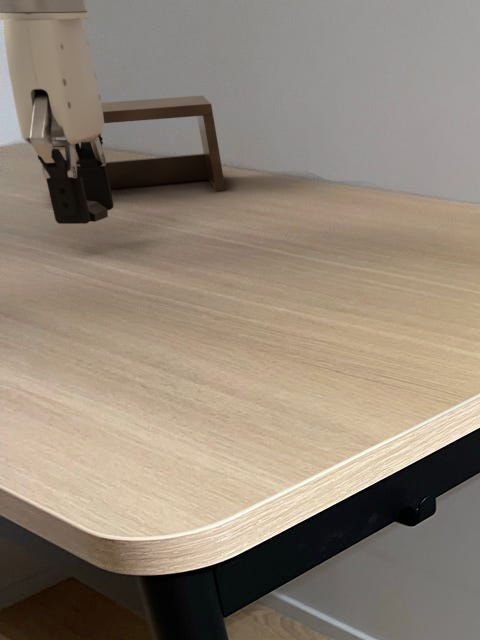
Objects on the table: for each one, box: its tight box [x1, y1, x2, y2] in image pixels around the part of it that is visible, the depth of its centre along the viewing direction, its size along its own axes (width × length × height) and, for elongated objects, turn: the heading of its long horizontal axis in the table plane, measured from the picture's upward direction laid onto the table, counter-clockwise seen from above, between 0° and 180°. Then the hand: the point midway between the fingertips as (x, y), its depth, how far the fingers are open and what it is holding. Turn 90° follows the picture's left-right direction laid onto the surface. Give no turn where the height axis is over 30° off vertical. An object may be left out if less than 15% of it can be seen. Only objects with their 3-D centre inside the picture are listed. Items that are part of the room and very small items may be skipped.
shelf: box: [51, 95, 227, 192], centre depth 123 cm, size 20×10×10 cm, turn 109°
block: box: [87, 200, 109, 223], centre depth 98 cm, size 4×6×2 cm, turn 11°
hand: (85, 214), depth 98 cm, fingers closed on block, 6 cm apart
